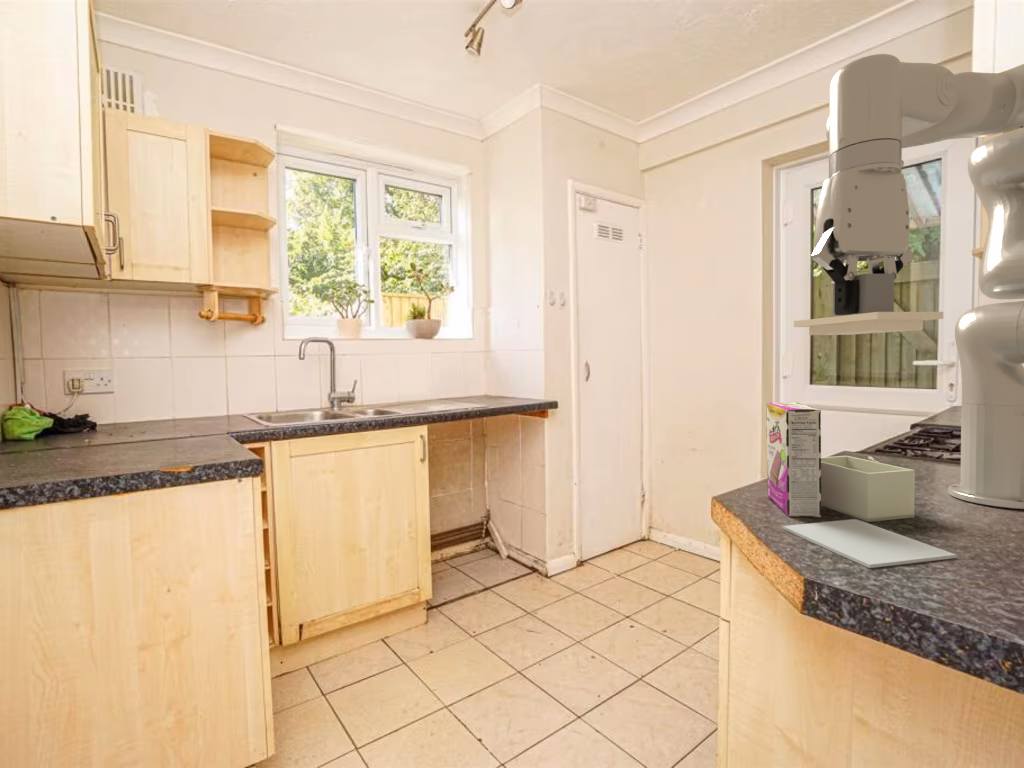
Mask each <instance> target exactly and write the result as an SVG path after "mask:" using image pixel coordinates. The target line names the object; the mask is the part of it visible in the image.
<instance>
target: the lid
mask: <svg viewBox="0 0 1024 768" xmlns="http://www.w3.org/2000/svg"><path fill="white" fill-rule="evenodd" d="M854 280H859V311H858V313H853V314H845V315H835V284H833V283H832V316H830V317H829V316H828V317H821V318H820V317H817V318H812V319H810V318H809V319H801V320H794V321H793V327H794V328H808V331H809V333H808V335H809V336H840V335H841V336H843V335H844V336H846V335H848V336H849V335H863V334H864V335H867V334H879V333H880V334H882V333H895V332H897V333H898V332H910V331H911V332H912V331H922V330H924V321H931V320H932V321H933V320H943V319H944V311H894V309H895V305H894V303H895V301H894V300H895V280H894V274H869V273H862V274H857V275H855V278H854Z"/></svg>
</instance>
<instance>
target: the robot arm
mask: <svg viewBox="0 0 1024 768" xmlns="http://www.w3.org/2000/svg"><path fill="white" fill-rule="evenodd" d="M828 94H829V95H828V97H829V98H828V102H829V103H828V105H829V106H828V115H829V116H828V118H827V121H826V124H825V135H826V139H827V142H828V178H827V179H825V180H824V181H823V183H822V187H821V190H820V195H819V198H818V204H817V209H816V210H817V211H816V217H815V219H816V221H815V230H814V250H813V252H812V254H811V260H812V261H813V262H815V263H817V265H819V266H820V267H822V268H823V271H824V272H825V273H826V274H827V275H828V276H829V282H830V283H831V284H832V285H833V284H835V315H845V314H853V313H858V311H859V280H854V278H855V276H856V273H857V270H858V269H857V268H858V263H859V262H867V267H868V274H894V281H896V280H897V279H898V274H899V273H900V271H901V270H902V269H903V267H905V266H906V265H907V264H908V263H910V262H911V261H913V260H914V257H915V256H914V252H913V251H912V249H911V247H910V245H909V243H910V234H911V233H910V229H911V228H910V209H909V208H910V207H909V199H908V198H909V197H908V192H907V191H908V190H907V185H906V180H905V176H904V173H902V168H903V167H904V165H905V162H904V160H903V158H902V155H903V154H902V153H903V152H902V151H903V149H907V148H912V147H913V148H914V147H919V146H924V145H931V144H935V143H938V142H943V141H946V140H955V139H973V138H984V137H990V136H994V135H997V136H994V137H993V138H990V139H988V140H986V141H984V142H982V143H981V144H979V145H978V146H975V148H974V149H973V150H972V151H971V153H970V154H969V157H968V160H967V173H968V176H969V179H970V182H971V184H972V186H973V188H974V191H975V192H976V194H977V196H978V198H979V200H980V202H981V204H982V206H983V207H984V209H985V212H986V216H987V219H988V226H987V233H986V238H985V242H984V243H985V244H984V247H983V251H982V256H981V261H980V267H979V273H978V286H979V290H980V291H981V293H982V294H983V295H984V296H986V297H988V298H990V299H992V300H993V299H996V300H1019V301H1010V302H1009V301H1007V302H998V303H997V302H996V303H990V304H984V305H981V306H980V305H979V306H976V307H973V308H971V309H969V310H967V311H965V312H964V313H963V314H962V315H960V316H959V318H958V319H957V321H956V323H955V326H954V339H955V345H956V348H957V355H958V358H959V366H960V373H961V374H960V375H961V376H960V378H961V416H960V417H961V422H960V423H961V425H960V426H961V427H960V430H961V431H960V476H959V478H960V482H959V483H953V484H950V485H949V486H948V489H947V490H948V491H947V493H948V494H949V495H950V496H951V497H953V498H956V499H959V500H962V501H966V502H969V503H975V504H979V505H984V506H989V507H990V506H991V507H996V508H997V507H998V508H1005V509H1006V508H1007V509H1014V510H1015V509H1016V510H1017V509H1018V510H1024V366H1023V364H1024V300H1021V299H1024V63H1022V64H1020V65H1017V66H1015V67H1012V68H1009V69H1007V70H1003V71H1000V72H998V73H996V72H975V71H965V72H964V71H963V72H958V73H953V72H952V71H951V70H950V69H948V68H947V67H945V66H943V65H941V64H937V63H932V62H931V63H930V62H904V61H900V59H899V58H898V57H897V56H895V55H892V54H888V53H878V54H877V53H876V54H871V55H867V56H864V57H863V56H862V57H861V58H858V59H855V60H853V61H851V62H849V63H848V64H845V65H844V66H842V68H839V70H838V71H837V72H836V73H835V74H834V76H833V77H832V79H831V81H830V84H829V93H828ZM1007 131H1008V132H1007ZM880 263H882V264H883V266H882V267H881V266H880Z"/></svg>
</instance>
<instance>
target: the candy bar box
mask: <svg viewBox="0 0 1024 768" xmlns="http://www.w3.org/2000/svg"><path fill="white" fill-rule="evenodd" d="M765 406H766V413H765V414H766V415H765V416H766V418H765V419H766V448H767V449H766V452H767V453H766V456H767V457H766V461H767V463H766V464H767V468H766V471H767V472H766V473H767V498H768V499H769V500H771V501H772V503H773V504H775V505H776V506H777V507H778V508H779V509H780V511H782V512H783V513H784V514H785V515H786V516H787V517H789V518H822V506H821V457H822V437H821V436H822V434H821V433H822V427H821V425H822V423H821V419H822V418H821V413H822V410H821V409H819V408H816V407H812V406H808V405H805V404H803V403H799V402H794V401H793V402H790V401H789V402H788V401H787V402H784V401H783V402H782V401H781V402H773V401H772V402H767V403H766V404H765Z"/></svg>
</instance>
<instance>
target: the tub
mask: <svg viewBox="0 0 1024 768" xmlns="http://www.w3.org/2000/svg"><path fill="white" fill-rule="evenodd" d="M915 474H916V470H915V469H911V468H907V467H901V466H896V465H892V464H887V463H882V462H879V461H873V460H868V459H865V458H860V457H855V456H850V455H838V456H837V455H835V456H824V457H823V456H821V507H824V508H827V509H830V510H833V511H834V512H835V511H836V512H838V513H842V514H844V515H847V516H850V517H853V518H854V519H857V520H860V521H863V522H866V523H870V522H871V523H873V522H880V521H881V522H882V521H889V520H890V521H891V520H901V519H902V520H903V519H911V518H912V519H914V518H915V496H916V495H915V494H916V493H915V491H916V490H915V489H916V488H915V486H916V485H915V484H916V483H915V481H916V478H915V476H916V475H915Z"/></svg>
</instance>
